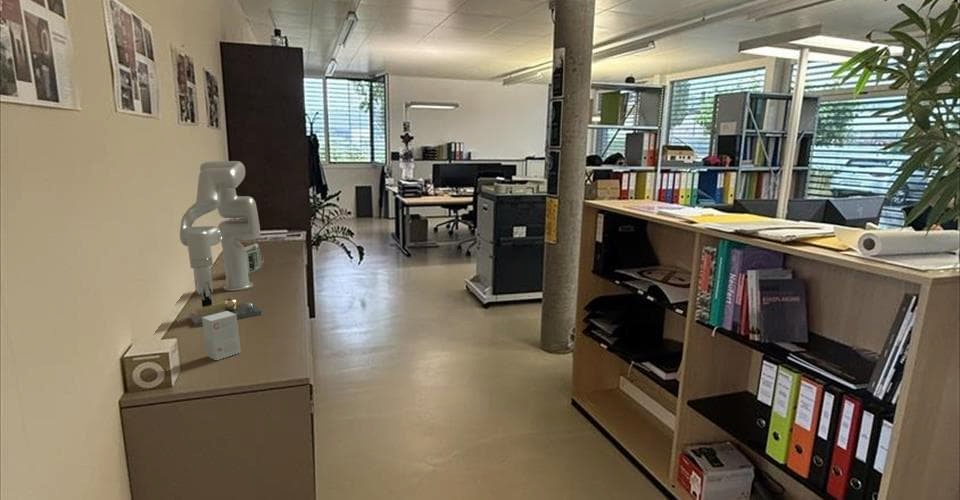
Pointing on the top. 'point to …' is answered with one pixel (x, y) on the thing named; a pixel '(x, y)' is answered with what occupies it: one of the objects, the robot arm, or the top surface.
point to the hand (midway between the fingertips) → (207, 308)
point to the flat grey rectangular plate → (240, 312)
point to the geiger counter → (253, 257)
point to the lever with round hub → (217, 307)
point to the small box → (221, 335)
